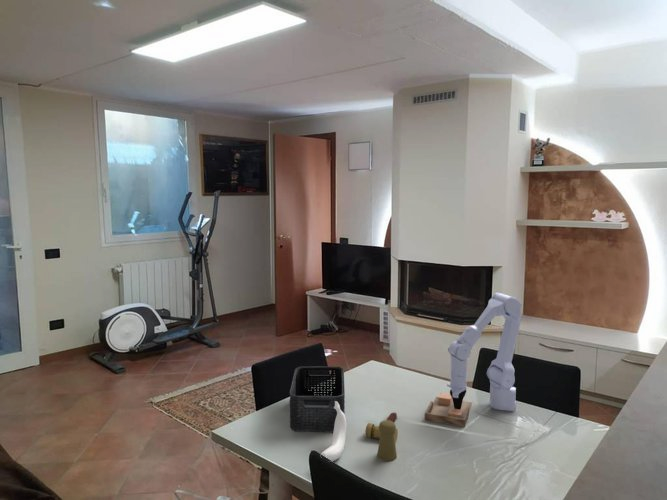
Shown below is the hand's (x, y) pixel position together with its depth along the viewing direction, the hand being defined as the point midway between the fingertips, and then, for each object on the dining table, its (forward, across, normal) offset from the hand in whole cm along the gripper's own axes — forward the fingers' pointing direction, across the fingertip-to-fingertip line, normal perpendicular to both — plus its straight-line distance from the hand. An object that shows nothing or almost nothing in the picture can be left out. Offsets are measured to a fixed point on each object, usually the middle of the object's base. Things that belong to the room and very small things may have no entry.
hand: (457, 409), depth 174 cm
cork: (+2, +39, -16) cm, 42 cm away
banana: (+2, +45, -31) cm, 55 cm away
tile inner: (+1, +6, 0) cm, 6 cm away
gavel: (+2, +21, -21) cm, 30 cm away
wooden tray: (+2, +1, -3) cm, 3 cm away
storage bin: (+2, +20, -48) cm, 52 cm away
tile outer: (+1, -6, -6) cm, 8 cm away
